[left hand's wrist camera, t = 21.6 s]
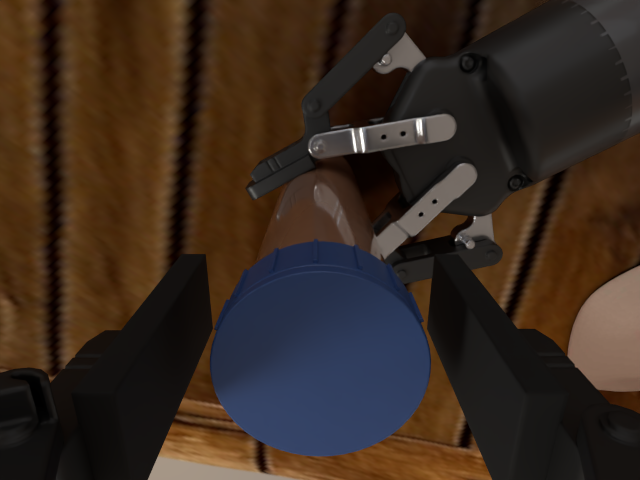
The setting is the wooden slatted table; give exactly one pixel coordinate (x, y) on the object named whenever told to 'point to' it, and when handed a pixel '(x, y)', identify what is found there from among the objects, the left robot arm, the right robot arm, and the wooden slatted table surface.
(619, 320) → the anatomical model
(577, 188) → the wooden slatted table surface
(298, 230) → the brown tube
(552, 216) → the wooden slatted table surface
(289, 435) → the lid
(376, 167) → the wooden slatted table surface
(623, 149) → the wooden slatted table surface
